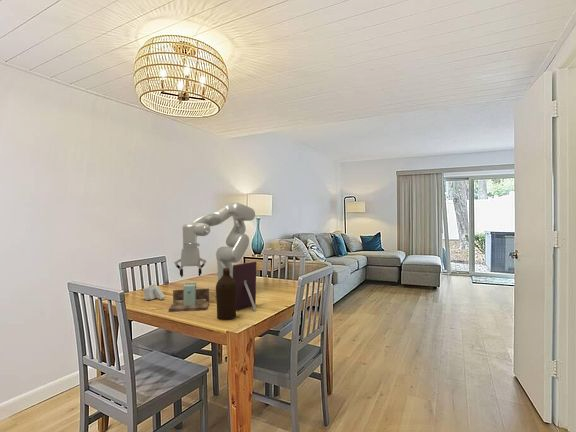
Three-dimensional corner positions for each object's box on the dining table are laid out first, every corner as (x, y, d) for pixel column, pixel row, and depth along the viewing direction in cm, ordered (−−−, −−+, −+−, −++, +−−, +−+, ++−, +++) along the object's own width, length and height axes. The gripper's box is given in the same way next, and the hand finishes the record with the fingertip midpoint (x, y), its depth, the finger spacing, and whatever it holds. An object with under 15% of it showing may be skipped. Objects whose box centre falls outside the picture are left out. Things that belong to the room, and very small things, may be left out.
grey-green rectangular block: (196, 301, 186) (196, 282, 186) (194, 306, 178) (194, 286, 178) (185, 302, 185) (185, 283, 185) (183, 306, 176) (183, 286, 176)
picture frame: (254, 304, 185) (253, 261, 185) (266, 307, 179) (266, 262, 179) (231, 311, 173) (231, 264, 172) (244, 315, 166) (244, 266, 166)
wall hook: (161, 300, 192) (157, 284, 193) (146, 303, 194) (142, 287, 195) (169, 297, 200) (165, 281, 201) (154, 300, 202) (151, 284, 203)
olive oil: (239, 318, 160) (239, 268, 160) (218, 321, 156) (218, 270, 156) (234, 312, 170) (234, 265, 170) (214, 315, 166) (213, 267, 166)
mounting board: (209, 303, 189) (209, 288, 189) (206, 310, 175) (206, 294, 175) (173, 304, 186) (173, 290, 186) (168, 311, 172) (168, 296, 172)
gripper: (206, 244, 187) (207, 273, 188) (175, 245, 184) (176, 275, 185) (205, 246, 180) (205, 276, 180) (172, 247, 177) (173, 278, 177)
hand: (190, 276), depth 182 cm, fingers open, 9 cm apart
